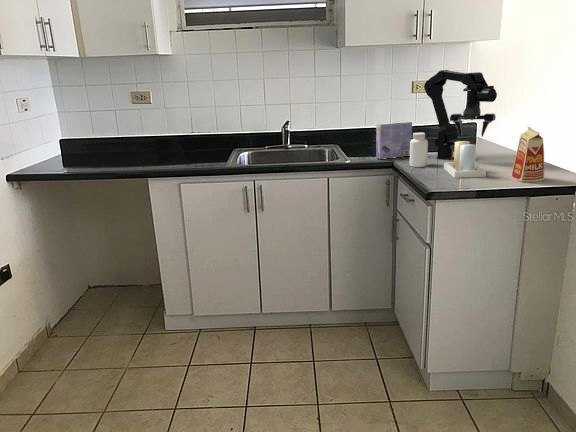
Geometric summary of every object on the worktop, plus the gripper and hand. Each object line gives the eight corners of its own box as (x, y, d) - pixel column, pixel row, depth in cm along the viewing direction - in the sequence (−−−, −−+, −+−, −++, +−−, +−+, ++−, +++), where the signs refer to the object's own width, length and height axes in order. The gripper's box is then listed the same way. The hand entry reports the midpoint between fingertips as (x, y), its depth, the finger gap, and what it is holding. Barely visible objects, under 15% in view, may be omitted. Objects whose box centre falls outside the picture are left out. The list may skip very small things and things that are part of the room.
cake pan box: (408, 155, 257) (409, 120, 252) (414, 156, 252) (414, 121, 248) (375, 158, 252) (375, 123, 247) (380, 160, 247) (380, 124, 242)
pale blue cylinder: (457, 175, 202) (458, 146, 198) (461, 172, 206) (462, 143, 203) (472, 176, 199) (474, 146, 195) (476, 173, 203) (477, 144, 200)
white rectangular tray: (443, 169, 217) (444, 162, 216) (472, 168, 216) (472, 161, 215) (454, 178, 198) (454, 171, 197) (485, 177, 197) (486, 170, 196)
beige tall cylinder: (450, 170, 212) (451, 142, 209) (459, 168, 215) (460, 140, 212) (463, 171, 207) (464, 143, 204) (471, 169, 211) (472, 141, 207)
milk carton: (510, 178, 194) (513, 126, 189) (532, 176, 195) (537, 125, 189) (522, 182, 186) (526, 129, 180) (546, 181, 186) (551, 127, 181)
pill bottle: (417, 168, 223) (418, 134, 219) (405, 165, 230) (406, 133, 226) (431, 165, 226) (431, 133, 222) (419, 163, 233) (419, 131, 229)
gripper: (447, 103, 220) (446, 138, 224) (491, 102, 210) (489, 139, 214) (453, 101, 229) (452, 135, 233) (496, 100, 219) (494, 135, 223)
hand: (471, 136), depth 226 cm, fingers open, 9 cm apart
